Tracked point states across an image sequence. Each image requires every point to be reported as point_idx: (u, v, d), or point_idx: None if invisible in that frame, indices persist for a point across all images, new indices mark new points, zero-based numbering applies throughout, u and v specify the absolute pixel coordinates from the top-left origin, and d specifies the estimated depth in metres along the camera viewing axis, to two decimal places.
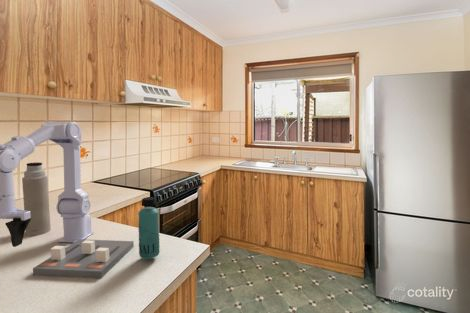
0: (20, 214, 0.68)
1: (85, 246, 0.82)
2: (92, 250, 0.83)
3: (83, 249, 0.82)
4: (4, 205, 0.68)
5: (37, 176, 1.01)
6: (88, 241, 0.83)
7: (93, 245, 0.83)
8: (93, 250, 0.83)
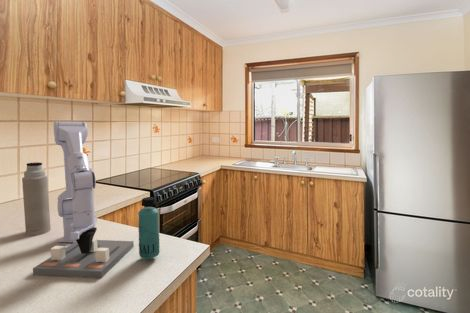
0: None
1: None
2: (95, 248, 0.84)
3: None
4: (75, 220, 0.78)
5: (37, 176, 1.01)
6: None
7: (96, 243, 0.85)
8: (96, 248, 0.85)
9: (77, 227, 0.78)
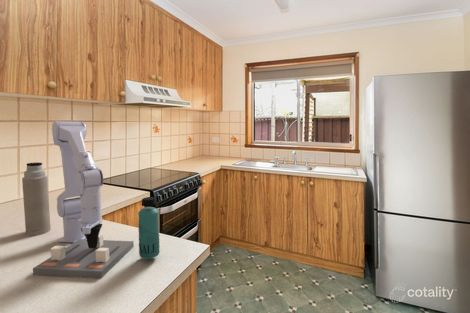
0: (82, 228, 0.78)
1: None
2: (100, 244, 0.87)
3: None
4: (84, 216, 0.82)
5: (37, 176, 1.01)
6: None
7: (101, 239, 0.88)
8: (101, 244, 0.88)
9: (86, 223, 0.82)
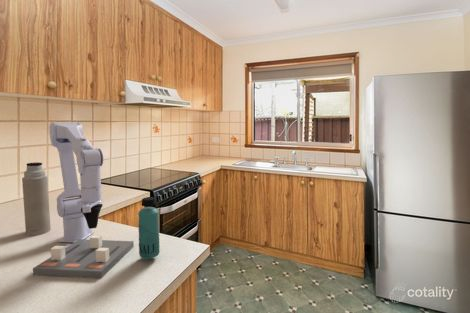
0: None
1: (93, 241, 0.86)
2: (99, 244, 0.87)
3: (91, 243, 0.86)
4: (84, 195, 0.81)
5: (37, 176, 1.01)
6: (96, 236, 0.87)
7: (100, 240, 0.87)
8: (100, 244, 0.87)
9: (86, 202, 0.81)
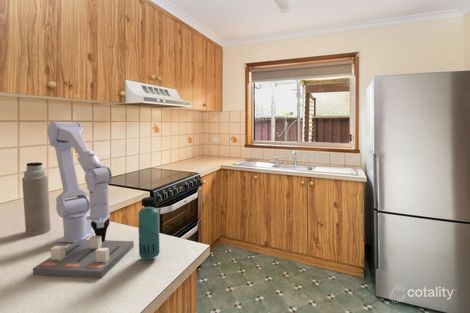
0: (96, 222, 0.83)
1: (92, 241, 0.86)
2: (99, 245, 0.86)
3: (90, 244, 0.86)
4: (94, 212, 0.86)
5: (37, 176, 1.01)
6: (95, 236, 0.87)
7: (100, 240, 0.87)
8: (100, 245, 0.87)
9: (97, 218, 0.86)
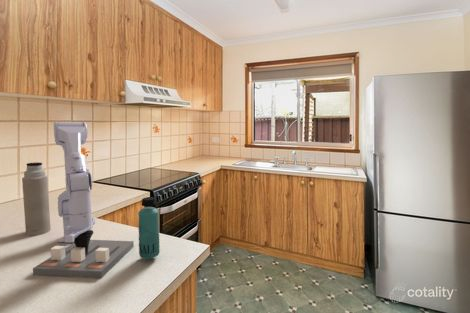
0: None
1: (74, 253, 0.77)
2: (82, 258, 0.78)
3: (72, 257, 0.77)
4: (71, 222, 0.76)
5: (37, 176, 1.01)
6: (78, 248, 0.78)
7: (83, 252, 0.78)
8: (83, 258, 0.78)
9: (73, 229, 0.76)
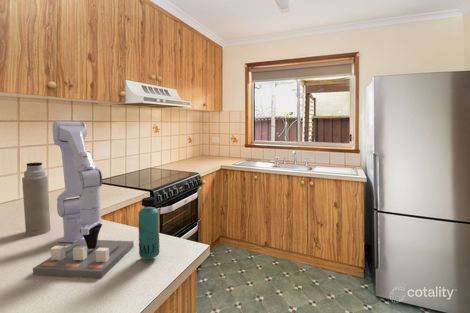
0: (81, 228, 0.78)
1: (76, 252, 0.78)
2: (84, 256, 0.79)
3: (74, 255, 0.78)
4: (83, 216, 0.81)
5: (37, 176, 1.01)
6: (80, 247, 0.79)
7: (85, 251, 0.79)
8: (85, 256, 0.79)
9: (85, 223, 0.81)
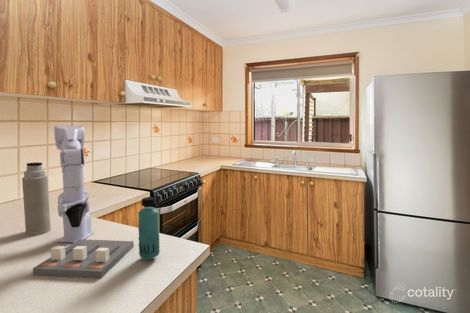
0: None
1: (76, 252, 0.78)
2: (84, 256, 0.79)
3: (74, 255, 0.78)
4: (65, 194, 0.82)
5: (37, 176, 1.01)
6: (80, 247, 0.79)
7: (85, 251, 0.79)
8: (85, 256, 0.79)
9: (66, 201, 0.82)
